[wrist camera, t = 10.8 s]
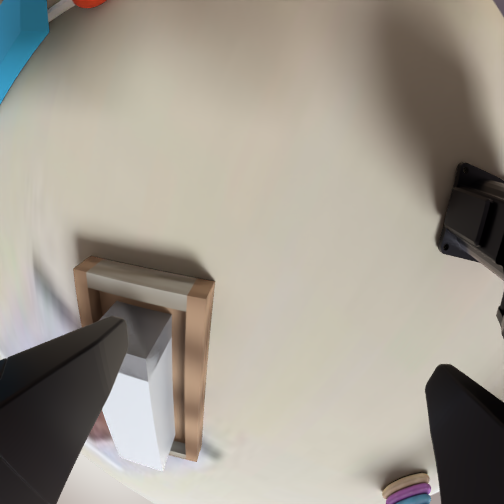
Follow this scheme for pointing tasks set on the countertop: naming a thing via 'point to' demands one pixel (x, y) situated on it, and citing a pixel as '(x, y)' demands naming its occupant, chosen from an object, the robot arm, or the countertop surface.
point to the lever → (26, 32)
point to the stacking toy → (409, 490)
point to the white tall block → (143, 388)
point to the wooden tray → (183, 330)
